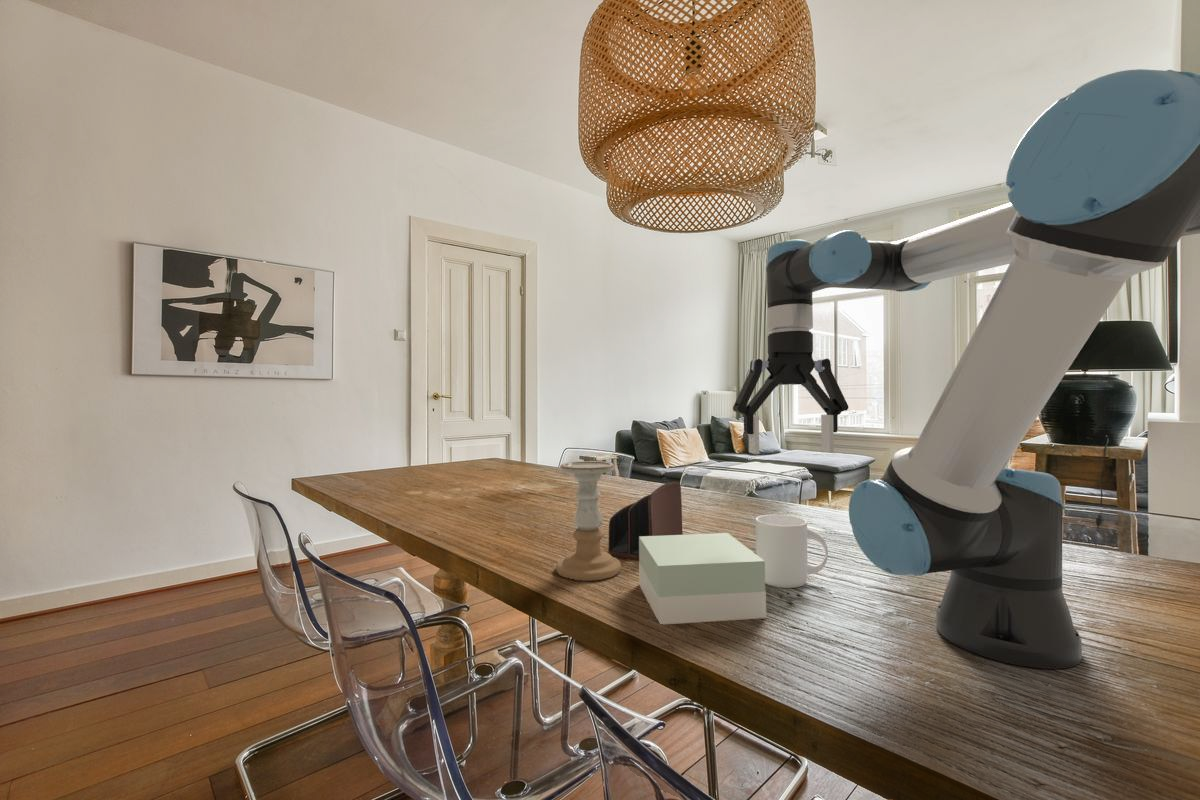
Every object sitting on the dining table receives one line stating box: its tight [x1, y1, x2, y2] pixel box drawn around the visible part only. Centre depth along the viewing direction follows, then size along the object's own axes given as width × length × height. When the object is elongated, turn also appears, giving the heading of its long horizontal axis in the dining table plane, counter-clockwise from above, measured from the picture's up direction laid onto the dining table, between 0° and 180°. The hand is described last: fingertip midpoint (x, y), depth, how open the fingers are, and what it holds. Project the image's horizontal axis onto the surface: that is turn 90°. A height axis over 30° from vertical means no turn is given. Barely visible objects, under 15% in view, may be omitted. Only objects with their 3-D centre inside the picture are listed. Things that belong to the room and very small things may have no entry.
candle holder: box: [555, 460, 622, 582], centre depth 99 cm, size 12×12×20 cm
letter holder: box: [607, 481, 684, 561], centre depth 114 cm, size 10×20×14 cm, turn 154°
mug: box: [755, 514, 829, 589], centre depth 92 cm, size 9×12×11 cm
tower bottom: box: [638, 561, 767, 625], centre depth 84 cm, size 16×16×4 cm
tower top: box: [638, 532, 766, 597], centre depth 84 cm, size 16×16×4 cm
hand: (791, 452), depth 92 cm, fingers open, 13 cm apart
